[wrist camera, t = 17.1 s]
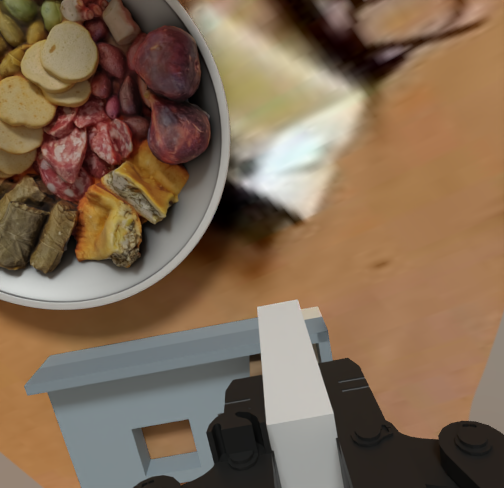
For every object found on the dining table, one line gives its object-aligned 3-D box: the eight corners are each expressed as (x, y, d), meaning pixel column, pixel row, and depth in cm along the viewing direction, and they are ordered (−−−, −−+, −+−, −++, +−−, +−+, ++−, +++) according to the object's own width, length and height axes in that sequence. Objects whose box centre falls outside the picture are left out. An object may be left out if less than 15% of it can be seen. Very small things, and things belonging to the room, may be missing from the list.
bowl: (29, 339, 45) (-15, 382, 37) (-177, 64, 38) (-282, 48, 30) (288, 201, 42) (298, 217, 34) (116, -128, 35) (80, -199, 27)
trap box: (93, 481, 49) (75, 523, 44) (49, 355, 45) (24, 386, 40) (339, 438, 48) (351, 476, 43) (317, 306, 44) (327, 330, 39)
